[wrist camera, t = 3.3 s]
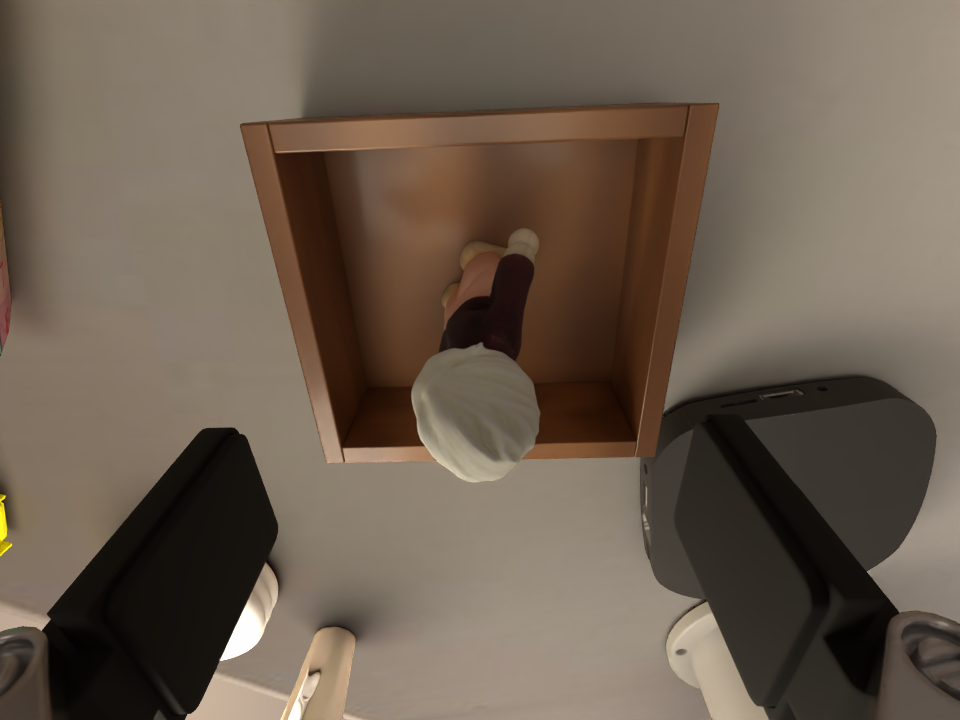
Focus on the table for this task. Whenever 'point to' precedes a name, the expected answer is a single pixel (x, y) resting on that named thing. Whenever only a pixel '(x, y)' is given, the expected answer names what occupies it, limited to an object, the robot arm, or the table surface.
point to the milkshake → (323, 677)
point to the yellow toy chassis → (3, 527)
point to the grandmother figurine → (481, 366)
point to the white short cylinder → (254, 615)
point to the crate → (492, 219)
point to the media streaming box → (806, 465)
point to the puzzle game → (4, 288)
